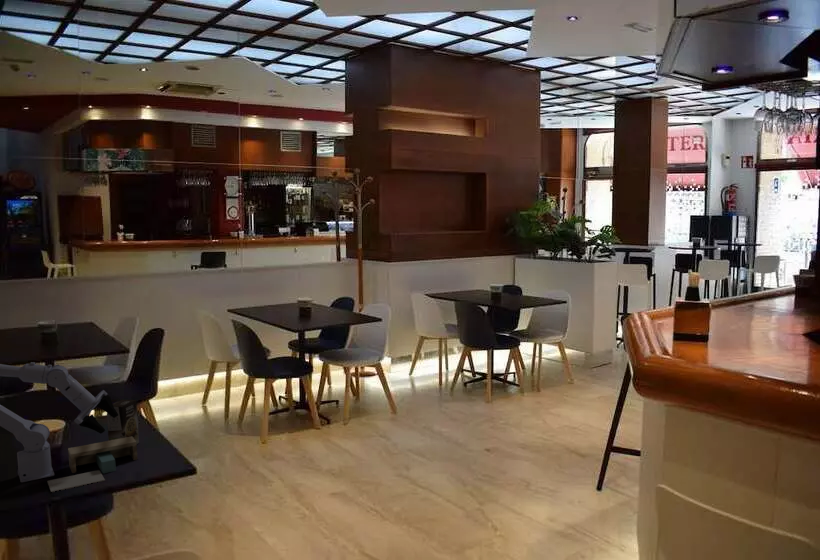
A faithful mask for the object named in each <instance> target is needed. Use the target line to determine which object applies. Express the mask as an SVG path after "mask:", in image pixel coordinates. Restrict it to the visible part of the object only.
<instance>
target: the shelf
mask: <svg viewBox="0 0 820 560" xmlns="http://www.w3.org/2000/svg"><path fill="white" fill-rule="evenodd" d="M137 445H138V444H137V443H136V441H135V439H134V438H133V437H132V436H131V437H126V438H120V439H115V440H110V441H108V440H105V441H100V442H94V443H90V444H84V445H80V446H79V445H78V446H74V447H68V448H67V454H68V464H69V465H68V466H69V469H70V471H71V473H72V474H75V473H77V466H78V465H79V466H83V465H89V464H92V463H96V453H100V452H105V451H110V453H111V454H112V456H113V457H114V459H117V458H123V457H129V456H130V457H131V458H132V460H133V461H137V459H138V448H137Z"/></svg>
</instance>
